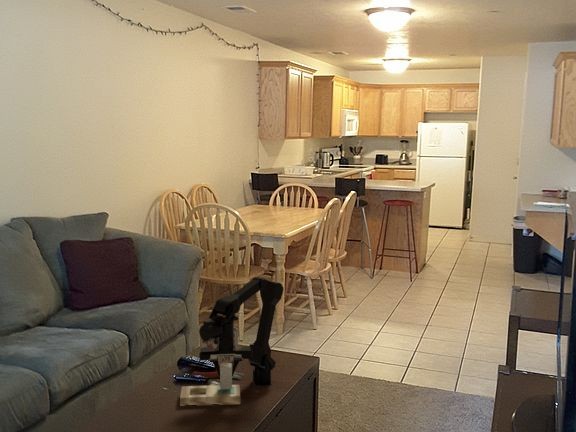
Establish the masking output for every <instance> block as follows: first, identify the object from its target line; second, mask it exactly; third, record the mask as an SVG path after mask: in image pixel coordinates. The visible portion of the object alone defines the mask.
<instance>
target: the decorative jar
mask: <svg viewBox="0 0 576 432" xmlns="http://www.w3.org/2000/svg"><path fill="white" fill-rule="evenodd" d="M238 334H239V332H238V329H237V327H236V326H235V325H234V350H239V337H238ZM204 347H211V350H218V344H214V339H212V340H209V341H204V340H202V338H201V337H200V336H199V350H200V349H201V348H204ZM218 358H219V366H220V363H233V358H234V355H230V356H218ZM208 361H210V359H209V360H208Z"/></svg>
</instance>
